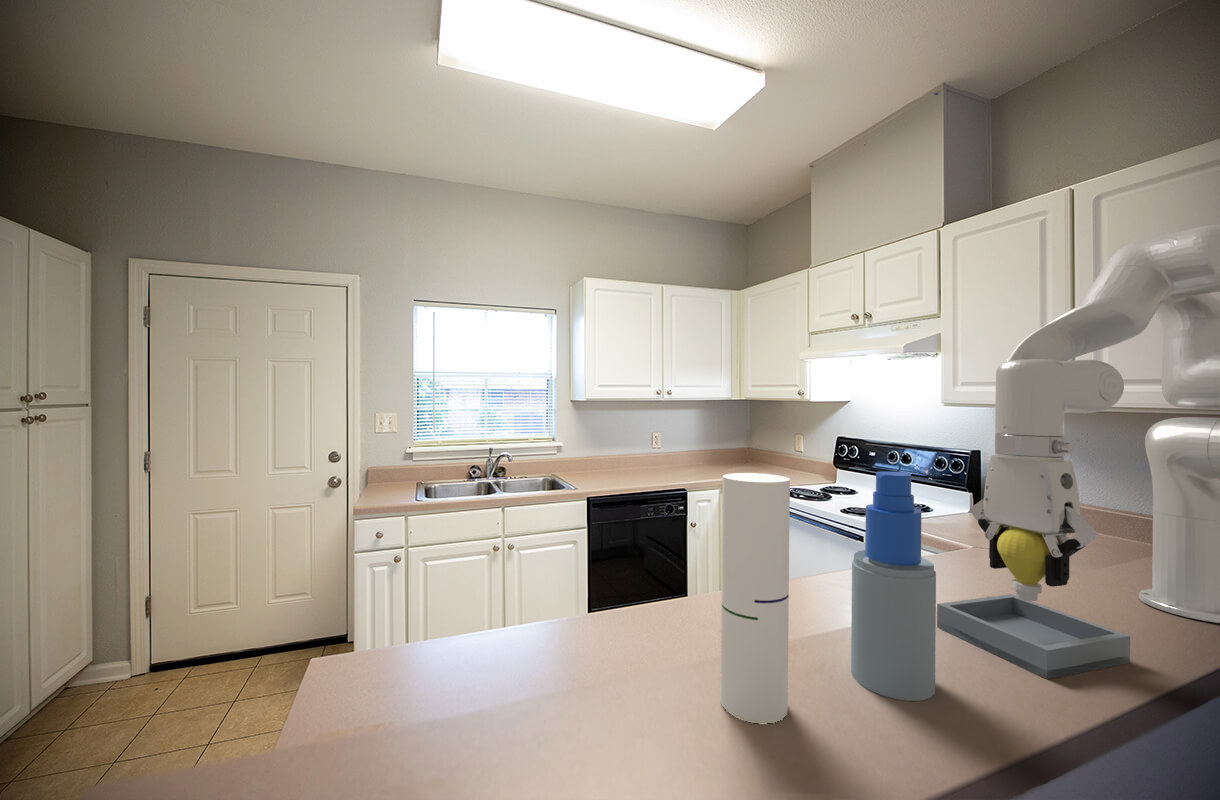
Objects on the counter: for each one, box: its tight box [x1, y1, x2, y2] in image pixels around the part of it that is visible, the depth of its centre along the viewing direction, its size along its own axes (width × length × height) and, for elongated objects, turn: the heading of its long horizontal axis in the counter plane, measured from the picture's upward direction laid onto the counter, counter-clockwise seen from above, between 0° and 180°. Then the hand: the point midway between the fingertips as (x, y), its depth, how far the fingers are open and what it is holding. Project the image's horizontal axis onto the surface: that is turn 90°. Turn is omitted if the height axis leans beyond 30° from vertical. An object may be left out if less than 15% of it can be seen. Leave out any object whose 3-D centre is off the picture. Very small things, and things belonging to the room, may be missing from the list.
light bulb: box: [997, 527, 1051, 602], centre depth 72 cm, size 7×7×10 cm
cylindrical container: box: [719, 472, 791, 725], centre depth 57 cm, size 7×7×25 cm
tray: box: [936, 594, 1131, 680], centre depth 72 cm, size 15×15×4 cm
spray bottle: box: [850, 471, 937, 702], centre depth 62 cm, size 9×9×25 cm
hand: (1026, 574), depth 72 cm, fingers closed on light bulb, 6 cm apart
